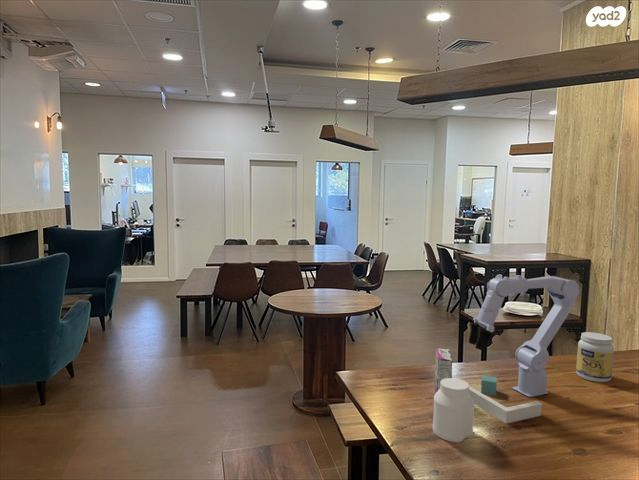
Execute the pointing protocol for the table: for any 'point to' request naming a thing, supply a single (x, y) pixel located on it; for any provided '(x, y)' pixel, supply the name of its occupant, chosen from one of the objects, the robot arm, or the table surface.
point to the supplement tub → (595, 357)
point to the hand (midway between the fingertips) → (474, 346)
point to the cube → (489, 385)
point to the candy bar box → (442, 366)
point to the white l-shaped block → (506, 408)
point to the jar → (453, 410)
